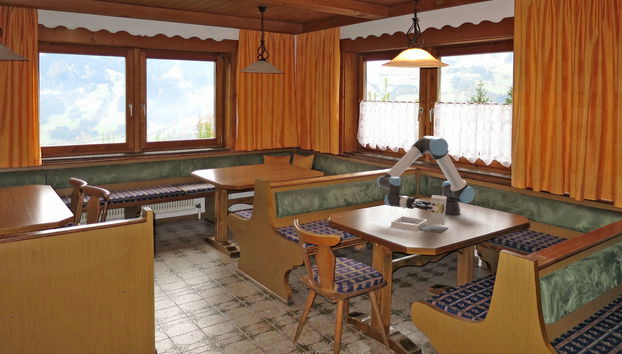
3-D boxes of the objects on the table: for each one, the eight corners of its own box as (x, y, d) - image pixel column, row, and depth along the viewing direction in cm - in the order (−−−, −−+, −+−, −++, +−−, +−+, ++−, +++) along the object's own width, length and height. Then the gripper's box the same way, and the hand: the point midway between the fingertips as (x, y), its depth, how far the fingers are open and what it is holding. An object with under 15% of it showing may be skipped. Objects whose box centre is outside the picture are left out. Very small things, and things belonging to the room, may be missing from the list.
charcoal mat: (427, 225, 349) (427, 224, 349) (448, 228, 342) (448, 227, 341) (419, 230, 337) (419, 229, 337) (441, 233, 330) (441, 232, 330)
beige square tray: (402, 220, 361) (402, 215, 361) (427, 224, 352) (427, 219, 352) (391, 226, 346) (391, 221, 345) (417, 230, 336) (417, 225, 336)
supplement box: (428, 223, 334) (430, 197, 331) (429, 220, 343) (431, 194, 340) (444, 225, 332) (446, 198, 329) (444, 221, 341) (446, 195, 338)
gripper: (414, 205, 356) (446, 209, 345) (400, 211, 337) (434, 216, 325) (414, 194, 355) (447, 198, 344) (401, 199, 335) (435, 204, 324)
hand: (441, 207), depth 335 cm, fingers closed on supplement box, 11 cm apart
